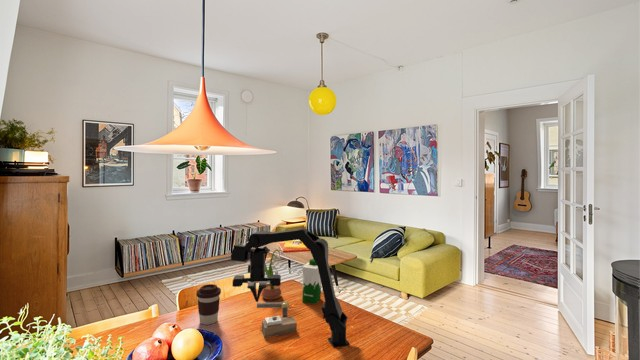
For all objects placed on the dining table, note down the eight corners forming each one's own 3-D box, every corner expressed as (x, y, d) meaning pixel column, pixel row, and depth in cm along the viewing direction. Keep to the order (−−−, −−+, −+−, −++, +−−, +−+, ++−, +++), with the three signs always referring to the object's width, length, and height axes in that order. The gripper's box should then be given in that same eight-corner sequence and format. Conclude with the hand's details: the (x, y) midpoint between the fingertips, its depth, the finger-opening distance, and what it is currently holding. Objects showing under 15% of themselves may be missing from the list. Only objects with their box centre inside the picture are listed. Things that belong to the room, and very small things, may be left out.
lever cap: (281, 324, 130) (281, 319, 130) (266, 326, 128) (266, 321, 128) (279, 319, 134) (279, 314, 134) (264, 321, 132) (264, 316, 132)
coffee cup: (195, 328, 134) (195, 292, 133) (197, 317, 143) (197, 283, 143) (220, 325, 137) (220, 290, 136) (220, 314, 146) (221, 281, 145)
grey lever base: (296, 332, 131) (297, 317, 131) (264, 338, 127) (264, 322, 127) (288, 319, 143) (289, 305, 143) (258, 323, 138) (258, 309, 138)
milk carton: (322, 298, 166) (323, 259, 165) (316, 305, 157) (316, 264, 156) (306, 296, 169) (307, 258, 168) (299, 302, 160) (300, 262, 159)
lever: (289, 304, 143) (289, 301, 143) (289, 308, 139) (289, 304, 139) (257, 305, 142) (257, 301, 142) (256, 308, 138) (256, 305, 138)
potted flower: (277, 291, 175) (278, 245, 174) (288, 297, 167) (288, 248, 166) (258, 296, 167) (258, 248, 166) (268, 303, 159) (268, 252, 159)
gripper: (281, 257, 139) (280, 293, 140) (236, 257, 137) (236, 294, 138) (280, 265, 128) (280, 304, 129) (232, 265, 126) (232, 305, 127)
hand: (256, 301), depth 131 cm, fingers closed
